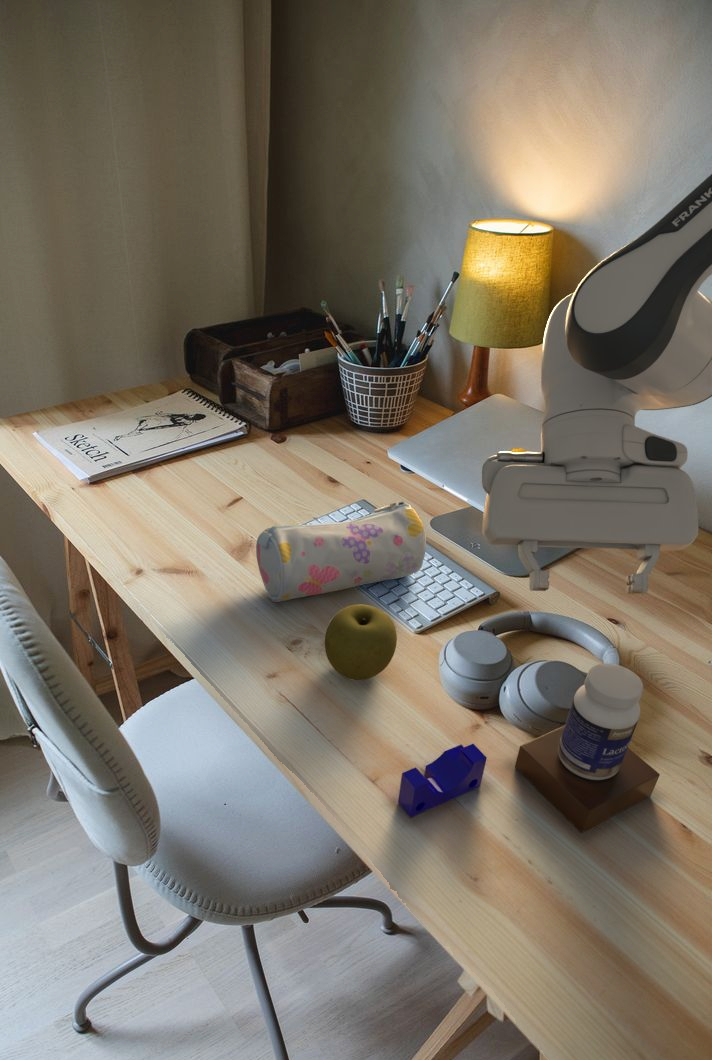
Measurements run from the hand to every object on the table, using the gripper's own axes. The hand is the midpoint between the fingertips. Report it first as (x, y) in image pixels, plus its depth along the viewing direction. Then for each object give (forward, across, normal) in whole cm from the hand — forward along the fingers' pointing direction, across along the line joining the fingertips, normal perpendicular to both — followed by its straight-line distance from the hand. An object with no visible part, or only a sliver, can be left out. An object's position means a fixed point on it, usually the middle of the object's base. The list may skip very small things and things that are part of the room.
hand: (588, 591), depth 80 cm
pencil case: (-4, -24, +24) cm, 34 cm away
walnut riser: (+18, 0, +1) cm, 18 cm away
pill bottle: (+16, 0, -1) cm, 16 cm away
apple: (+8, -22, +12) cm, 26 cm away
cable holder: (+20, -14, 0) cm, 24 cm away
